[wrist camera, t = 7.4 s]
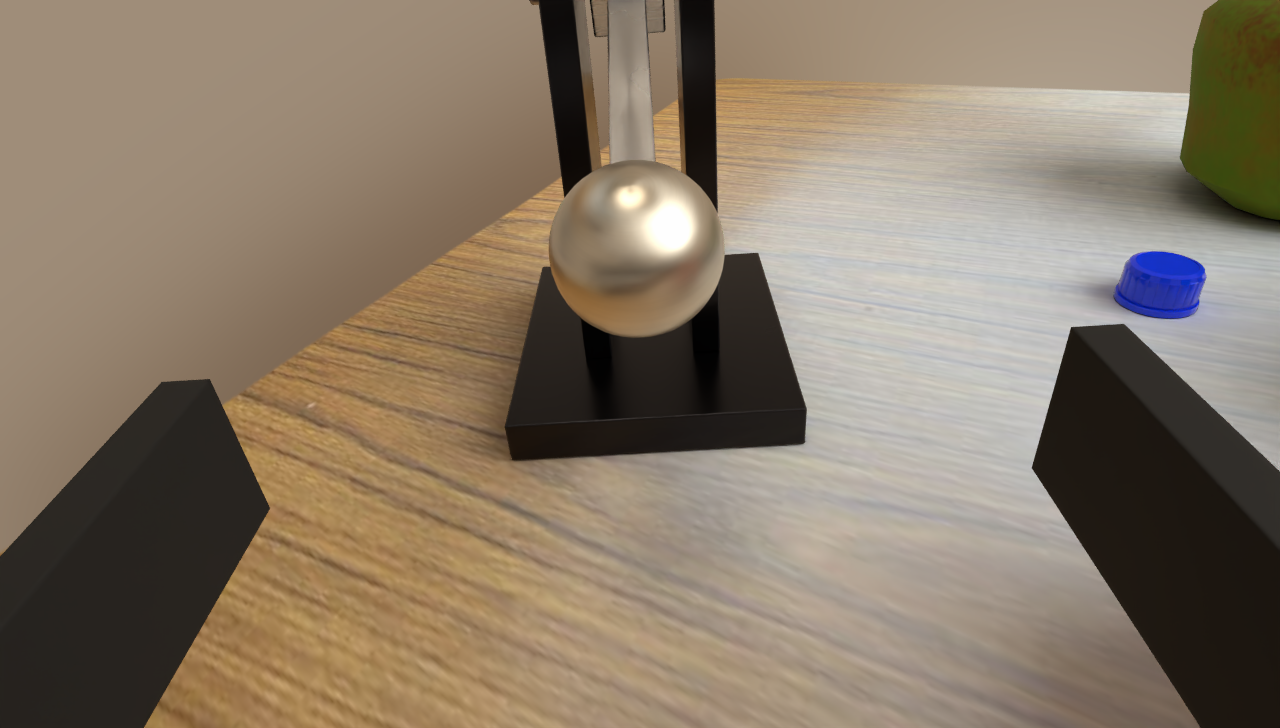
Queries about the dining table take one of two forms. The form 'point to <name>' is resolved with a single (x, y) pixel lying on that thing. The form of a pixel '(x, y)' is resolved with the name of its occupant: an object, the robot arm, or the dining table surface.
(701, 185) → the tap bracket
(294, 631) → the dining table surface
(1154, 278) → the bottle cap
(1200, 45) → the apple
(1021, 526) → the dining table surface
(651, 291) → the lever
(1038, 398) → the dining table surface
